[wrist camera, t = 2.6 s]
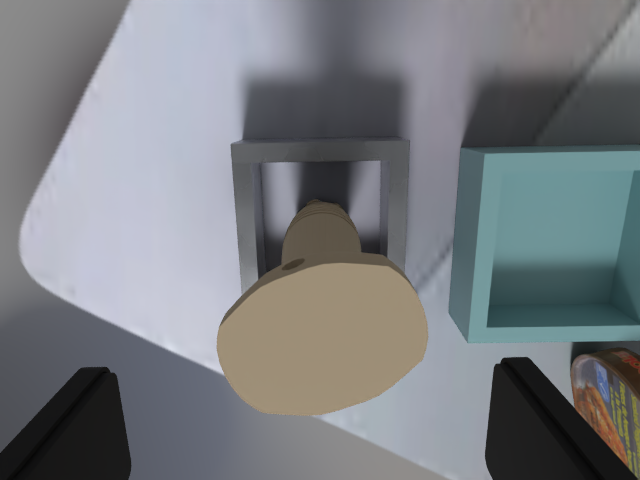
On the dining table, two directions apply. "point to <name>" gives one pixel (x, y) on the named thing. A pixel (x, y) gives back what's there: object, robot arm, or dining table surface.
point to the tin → (611, 399)
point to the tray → (547, 244)
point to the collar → (317, 150)
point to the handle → (322, 322)
